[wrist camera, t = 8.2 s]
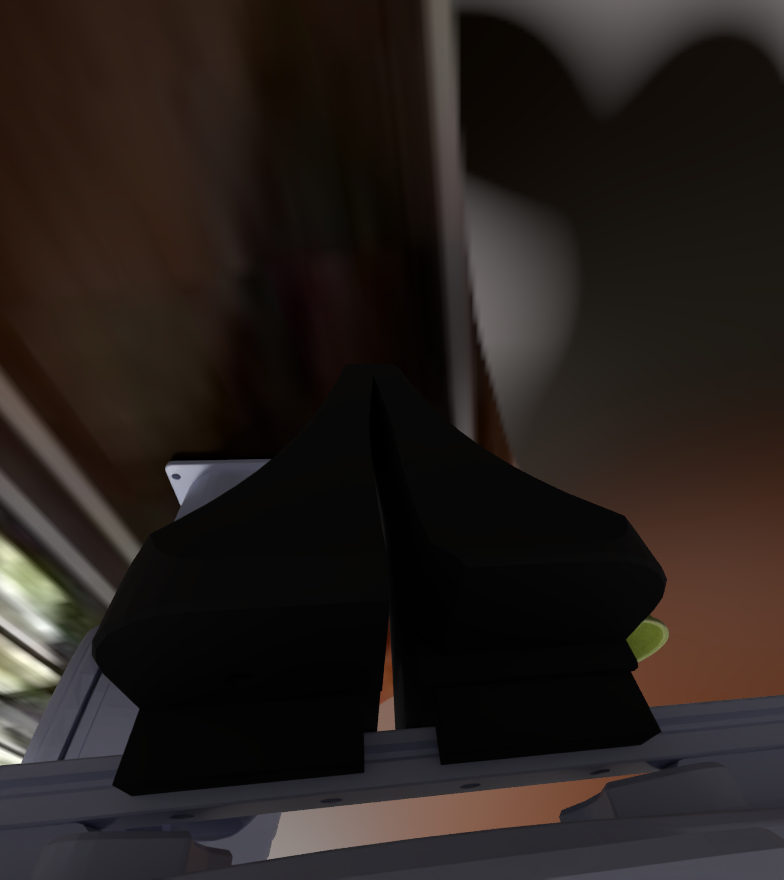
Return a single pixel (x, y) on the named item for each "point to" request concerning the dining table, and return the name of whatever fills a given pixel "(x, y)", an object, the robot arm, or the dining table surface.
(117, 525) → the dining table surface
